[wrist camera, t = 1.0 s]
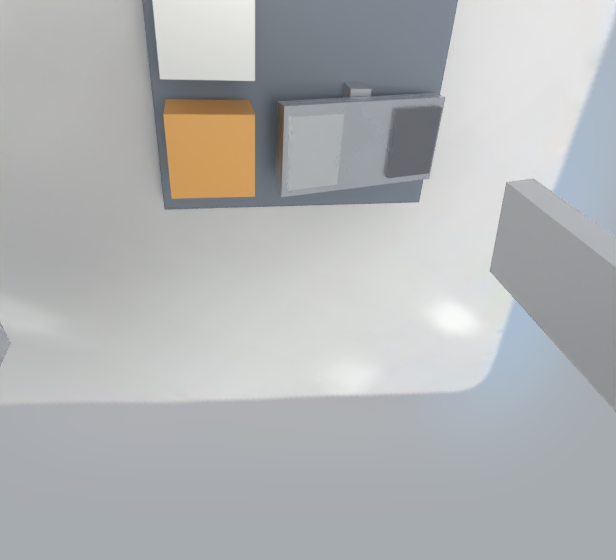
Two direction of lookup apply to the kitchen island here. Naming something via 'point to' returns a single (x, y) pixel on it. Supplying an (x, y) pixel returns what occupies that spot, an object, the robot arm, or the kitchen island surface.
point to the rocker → (355, 141)
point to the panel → (317, 79)
